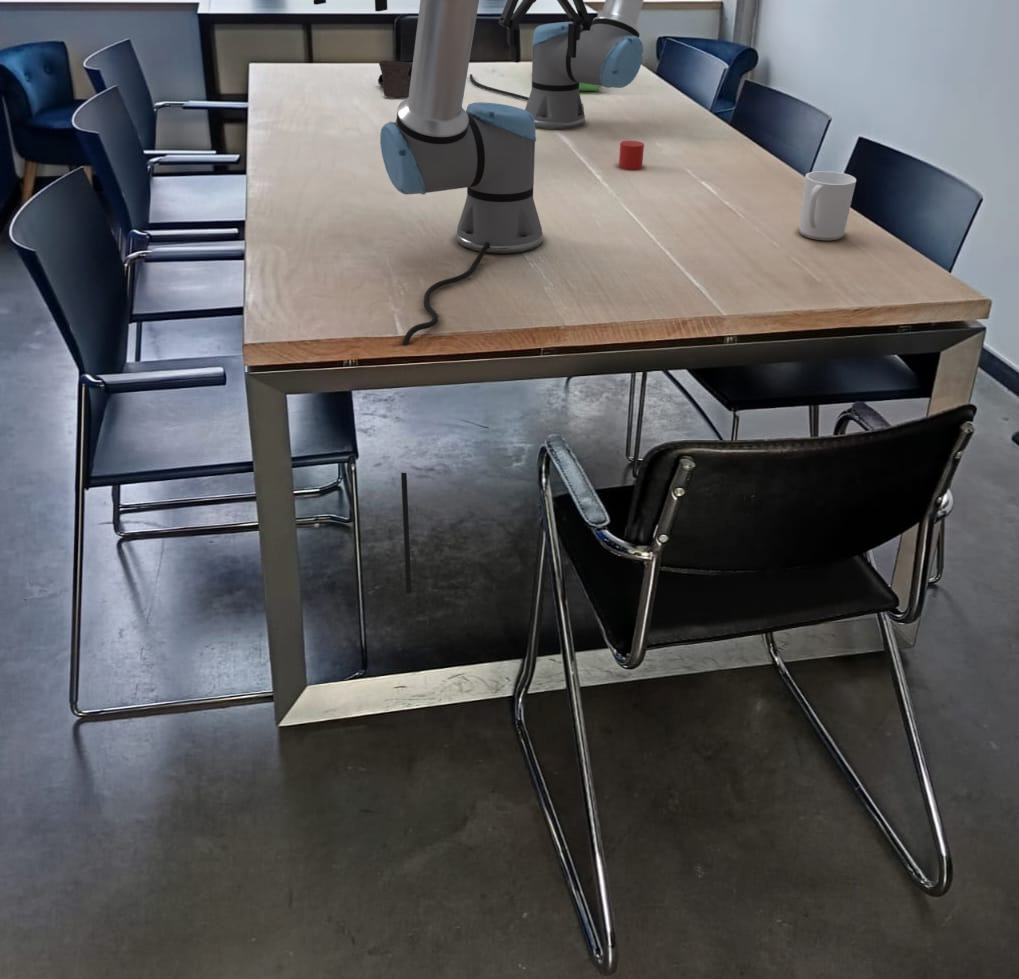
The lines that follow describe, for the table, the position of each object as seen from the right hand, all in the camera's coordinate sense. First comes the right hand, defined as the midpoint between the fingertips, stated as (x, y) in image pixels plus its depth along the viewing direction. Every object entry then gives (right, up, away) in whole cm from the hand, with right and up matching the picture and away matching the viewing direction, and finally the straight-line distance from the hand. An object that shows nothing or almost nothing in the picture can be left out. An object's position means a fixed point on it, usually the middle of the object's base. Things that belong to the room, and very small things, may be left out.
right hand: (543, 59), depth 236 cm
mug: (+50, -46, -35) cm, 76 cm away
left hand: (-36, -6, -39) cm, 54 cm away
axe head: (-36, +16, +64) cm, 76 cm away
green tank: (+8, +26, +81) cm, 85 cm away
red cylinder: (+19, -22, +3) cm, 30 cm away
